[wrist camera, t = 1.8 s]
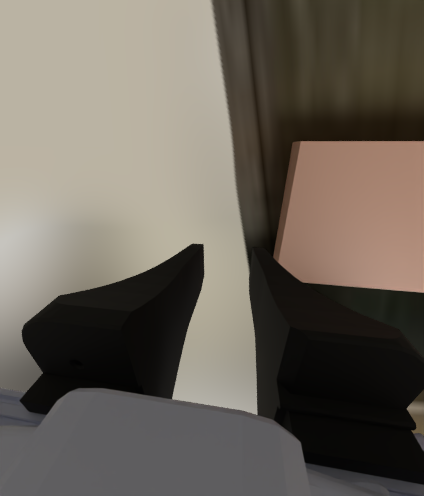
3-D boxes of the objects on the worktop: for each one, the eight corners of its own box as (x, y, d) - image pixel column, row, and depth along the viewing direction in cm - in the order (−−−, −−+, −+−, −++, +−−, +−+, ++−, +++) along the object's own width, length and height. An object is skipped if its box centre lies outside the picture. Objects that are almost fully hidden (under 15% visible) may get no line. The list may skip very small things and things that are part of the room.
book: (420, 275, 20) (448, 294, 17) (271, 264, 22) (274, 280, 19) (501, 142, 14) (559, 141, 12) (291, 142, 16) (300, 141, 14)
